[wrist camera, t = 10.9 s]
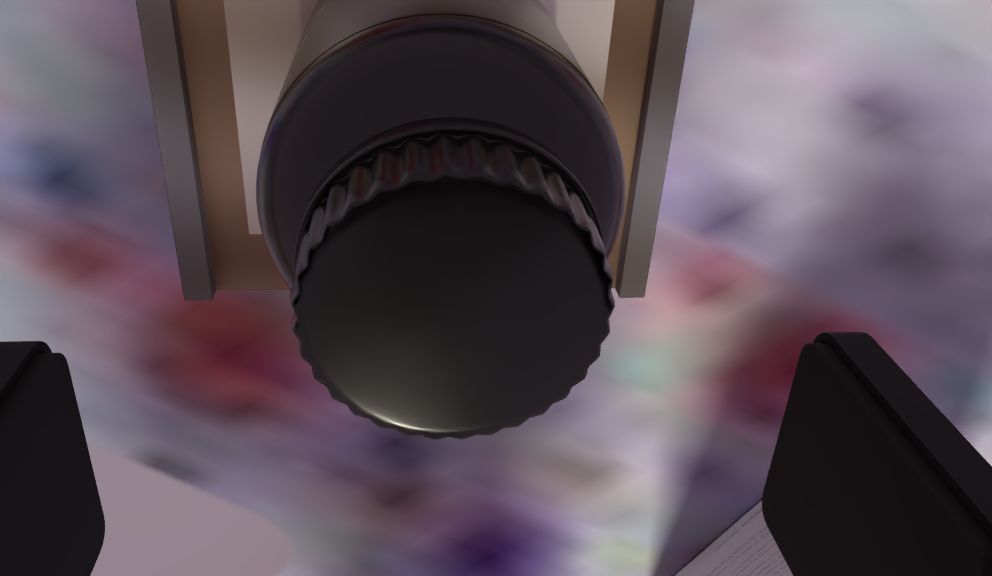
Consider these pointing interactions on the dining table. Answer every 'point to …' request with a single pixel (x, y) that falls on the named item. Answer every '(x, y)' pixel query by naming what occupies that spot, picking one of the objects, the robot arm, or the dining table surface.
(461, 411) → the supplement bottle
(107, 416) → the dining table surface
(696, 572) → the supplement box
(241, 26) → the dock
